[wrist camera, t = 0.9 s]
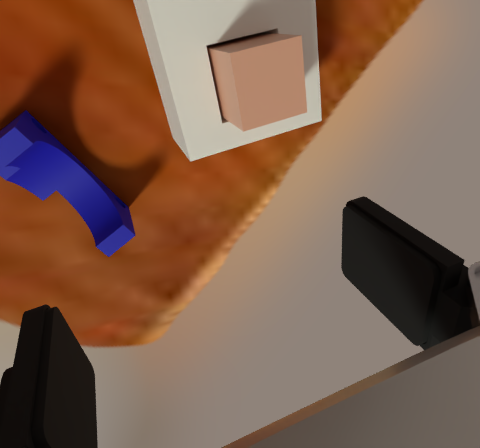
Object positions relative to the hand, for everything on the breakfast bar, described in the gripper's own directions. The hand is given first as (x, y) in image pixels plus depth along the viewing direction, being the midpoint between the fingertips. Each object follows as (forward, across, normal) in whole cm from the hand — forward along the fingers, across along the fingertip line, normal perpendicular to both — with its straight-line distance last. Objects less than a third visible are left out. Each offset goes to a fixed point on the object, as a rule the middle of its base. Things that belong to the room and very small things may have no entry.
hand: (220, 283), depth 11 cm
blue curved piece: (+26, +8, +4) cm, 27 cm away
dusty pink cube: (+21, -9, -2) cm, 23 cm away
